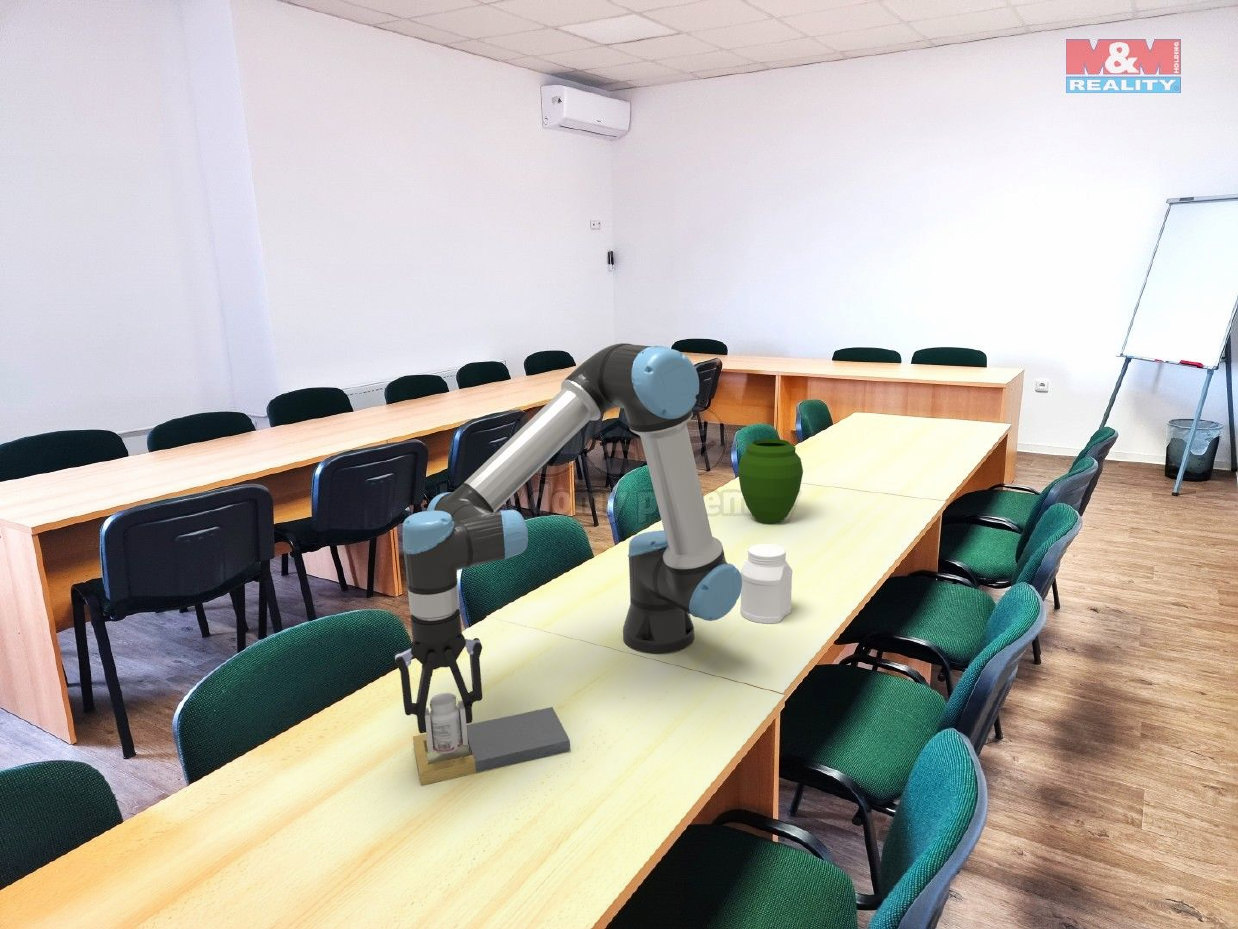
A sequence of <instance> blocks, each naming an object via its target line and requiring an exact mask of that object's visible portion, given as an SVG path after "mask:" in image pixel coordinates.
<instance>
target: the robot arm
mask: <svg viewBox="0 0 1238 929" xmlns="http://www.w3.org/2000/svg"><path fill="white" fill-rule="evenodd" d="M560 386H561V387H560V391H559V392H558V393H557V394H555V396H553V398H552V399H550V401H549V402H548V403H546V404H545V405H544V406H543V407H542V408H541V409H540V410H539V411H538V412H536V414H534V416H533V417H531V418H530V419H529V420H528V422H526V423H525V424H524V425H523V426H522V427H521V428H520V429H519V430H518V431H517V432H516V433H515V434H514V435H513V436H511V437H510V438H509V440H507V441H506V442H505V443H504V444H503V445H502V446H501V447H500V448H499V449H498V450H497V451H496V452H495V453H494V454H493V455H492V456H491V457H489V458H488V459H487V460H486V461H485V462H484V463H483V464H482V465H481V466H480V467H479V468H477V470H475V472H474V473H472V474H471V475H470V476H469V477H468V478H467V479H466V480H465V481H464V482H463V483H462V484H461V485H460V486H459V487H458V488H457V489H456V490H454V491H453V492H442V493H440V494H437V495H436V496H435V497H433V499H431V501H430V502H429V504H428V506H427V509H426V511H420V512H417V513H413V514H410V515H409V516H407V518H405V519H404V521H403V523H402V551H403V556H404V563H405V564H404V566H405V572H406V581H407V582H406V584H407V594H408V606H409V613H410V626H411V635H412V637H411V638H412V641H411V644H410V647H409V648H408V649H407V650H404V651H403V652H401V651H397V652H395V653H394V660H395V664H396V666H397V668H398V670H399V672H400V680H401V681H400V682H401V690H402V700H403V701H402V702H403V709H404V713H405V715H406V716H411V715H415V716H416V722H417V723H416V724H417V728H418V732H419V735H422V734H426V741H427V747H428V751H427V752H428V754H433V753H434V752H435V751H434V750H433V741H432V731H431V720H430V710H429V707H427V703H428V698H429V694H430V693H429V692H430V687H431V680H432V676H433V672H434V670H435V671H436V670H437V669H441V668H449V669H450V671H451V674H452V676H453V679H454V682H455V684H456V687H457V689H458V693H459V695H460V697H461V700H457V707H458V708H459V713H460V724H461V734H462V746H468V739H467V727H466V725H469V724H473V710H472V709H473V704H474V703H475V702H480V701H482V700H483V688H482V687H483V686H482V674H481V673H482V671H481V662H480V658H481V654H482V650H483V645H482V643H481V641H480V638H478V637H475V638H473V639H469V638H465V636H464V635H463V632H462V631H463V630H462V619H461V617H462V616H461V610H460V609H459V607H460V597H459V583H458V582H459V581H458V571H460V570H464V569H467V568H471V567H476V566H480V565H485V564H489V563H492V562H497V561H502V560H507V559H510V558H512V557H515V556H518V555H520V554H522V553H524V552H525V550H526V549H527V547H528V544H529V533H528V525H527V524H526V520H525V518H524V517H523V515H522V514H521V513H520V512H519V511H517V510H516V509H506V510H503V509H501V510H499V509H500V508H501V507H502V506H503V505H504V504H505V503H506V502H507V501H508V500H509V499H510V498H512V496H513V495H514V494H516V492H517V491H518V490H520V488H521V487H523V486H524V485H525V483H527V482H528V481H529V480H530V479H531V478H532V477H533V476H534V475H535V474H536V473H537V472H539V470H540V469H541V468H543V466H544V465H546V463H547V462H549V461H550V459H552V457H554V455H556V453H558V452H559V451H560V450H561V449H562V448H563V447H564V445H566V443H568V442H569V441H570V440H571V439H572V438H573V437H574V436H575V435H576V434H578V433H579V431H580V430H581V429H582V428H583V427H585V425H587V424H588V423H589V421H598V420H600V418H602V416H604V415H605V414H606V413H607V412H608V411H609V412H610V410H613V409H615V408H621V409H624V413H625V417H626V419H627V420H626V421H627V425H628V428H629V430H630V431H631V432H632V433H634V434H636V435H638V436H639V438H640V440H641V445H642V449H643V452H644V456H645V460H646V464H647V467H648V468H647V469H648V472H649V475H650V480H651V483H652V488H653V492H654V496H655V500H656V503H657V508H658V511H659V515H660V520H661V523H662V528H663V529H662V530H653V531H647V532H643V533H639V534H637V535H634V536H633V537H632V538H631V540H630V541H629V544H628V554H627V558H628V571H629V572H628V574H629V596H630V598H629V600H630V601H629V603H630V604H629V607H628V609H627V614H626V617H625V620H624V623H623V627H622V639H623V642H624V643H625V645H627V646H628V647H629V648H631V649H633V650H635V651H638V652H643V653H646V654H647V653H648V654H668V653H674V652H678V651H681V650H683V649H686V648H687V647H689V646H690V645H691V644H692V643H693V642H694V641H695V626H694V623H693V620H692V618H691V616H692V617H694V618H697V619H701V620H704V621H706V622H707V621H708V622H711V621H712V622H713V621H717V620H720V619H722V618H723V617H725V616H727V615H728V614H729V613H730V612H731V611H732V610H733V608H734V607H735V606H736V604H737V601H738V600H739V598H740V597H741V589H742V577H741V571H740V570H739V568H737V567H736V566H735V565H734V564H732V563H728V562H727V560H726V556H725V551H724V547H723V544H722V542H721V541H720V540H719V538H716V537H714V536H713V535H712V530H711V525H710V521H709V516H708V513H707V506H706V503H705V500H704V499H705V498H704V495H703V490H702V486H701V482H700V477H699V472H698V469H697V468H698V467H697V464H696V459H695V456H694V450H693V446H692V442H691V438H690V433H689V430H688V423H689V422H690V420H691V419H692V418H693V415H694V413H693V408H694V406H695V405H696V402H697V398H696V397H697V395H699V393H700V378H699V375H698V371H697V369H696V366H695V365H694V363H693V362H692V361H691V359H690V358H689V357H688V356H686V355H685V354H684V353H682V352H681V351H679V350H676V349H672V348H669V347H666V346H663V345H641V344H640V345H639V344H632V343H626V342H625V343H624V342H623V343H615V344H611V345H609V346H607V347H605V348H602V349H601V350H599V351H597V352H596V353H594V354H593V355H592V356H590V357H589V358H587V359H586V360H584V362H583V363H581V364H580V365H579V366H577V367H576V368H575V369H574V370H573V371H572V372H571V373H570V374H568V376H567V377H565V379H563V380H562V381H561V384H560ZM498 510H499V511H498ZM464 649H466V652H467V654H468V655H469V665H470V677H471V679H470V680H471V690H472V691H470V692H469V691H468V688H467V686H466V683H465V680H464V677H463V676H462V672H461V670H460V667H459V665H458V662H457V660H458V658H459V657H460V655H461V654H462V652H463V650H464ZM413 657H414V658H415V660H416V661H418V662H419V663H420V664H421V671H420V672H421V673H420V677H419V678H420V679H419V684H418V690H417V697H416V701H415V702H413V699H412V698H413V697H412V688H411V687H412V686H411V678H410V671H409V666H410V665H411V664H412V658H413Z"/></svg>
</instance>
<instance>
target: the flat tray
mask: <svg viewBox="0 0 1238 929" xmlns="http://www.w3.org/2000/svg"><path fill="white" fill-rule="evenodd" d="M466 727H467V739H468V745H467V747H468V751H469V755H466V756H465V755H464V756H461V757H456V758H452V759H448V760H443V761H439V762H433V763H430V764H429V762H428V759H427V752H428V747H427V741H426V733H421V734H419V735H418V734H417V735H413V736H412V742H413V743H412V744H413V751H414V755H415V760H416V767H417V772H418V777H419V778H418V779H419V783H420V786H425V785H430V784H434V783H438V782H443V781H446V780H451V779H455V778H460V777H465V776H469V775H472V774H473V775H474V774H476V773H477V774H478V773H482V772H485V771H491V770H494V769H499V768H503V767H507V766H511V765H515V764H520V763H521V764H522V763H524V762H525V763H526V762H529V761H533V760H537V759H542V758H546V757H550V756H551V757H552V756H555V755H559V754H564V753H568V752H571V739H570V738H569V736H568V734H567V732H566V730H565V729H564V727H563V725H562V723H561V721H560V719H559V717H558V715H557V712H556V711H555V709H554V708H553V706H550V707H546V708H540V709H537V710H531V711H526V712H522V713H516V714H511V715H508V716H503V717H498V718H494V719H490V720H489V719H488V720H484V721H479V722H474V723H468V724H466ZM433 751H434V749H433Z"/></svg>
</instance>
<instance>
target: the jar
mask: <svg viewBox="0 0 1238 929" xmlns="http://www.w3.org/2000/svg"><path fill="white" fill-rule="evenodd" d="M786 553H787V551H786V548H784V547H783V546H780V545H777V544H772V543H769V544H768V543H760V544H753V545H751V546H750V547H749V548H748V549H747V559H746V561H745V562H744V564H743V565H742V567H741V569H740V574H741V577H742V589H741V593H740V608H739V609H740V610H739V613H740V615H741V616H742V618H744V619H747V620H748V621H751V622H754V623H757V624H767V625H768V624H769V625H770V624H771V625H772V624H777V623H781V622H782V620H783V618H785V617H786V616H787V615H790V614H791V613H792V589H793V588H792V587H793V586H792V584H793V580H792V579H793V569H792V567H791V566H790V565H789V563H788V562H787V560H786V557H787V556H786Z"/></svg>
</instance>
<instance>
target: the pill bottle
mask: <svg viewBox="0 0 1238 929" xmlns="http://www.w3.org/2000/svg"><path fill="white" fill-rule="evenodd" d="M429 703H430V704H429V705H430V710H429V713H430V720H431V731H432V741H433V749H434V750H433V751H434V752H436V753H437V754H442V755H443V754H444V755H446V754H447V755H448V754H451V753H453V752H456V751H457V750H459V749H460V747H462V746H463V743H462V734H461V724H460V713H459V708H458V705H457V699H456V696H455V695H454V694H453V693H450V692H444V693H443V692H442V693H439V694H436V695H434V696H432V698H431V699H430V702H429Z"/></svg>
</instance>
